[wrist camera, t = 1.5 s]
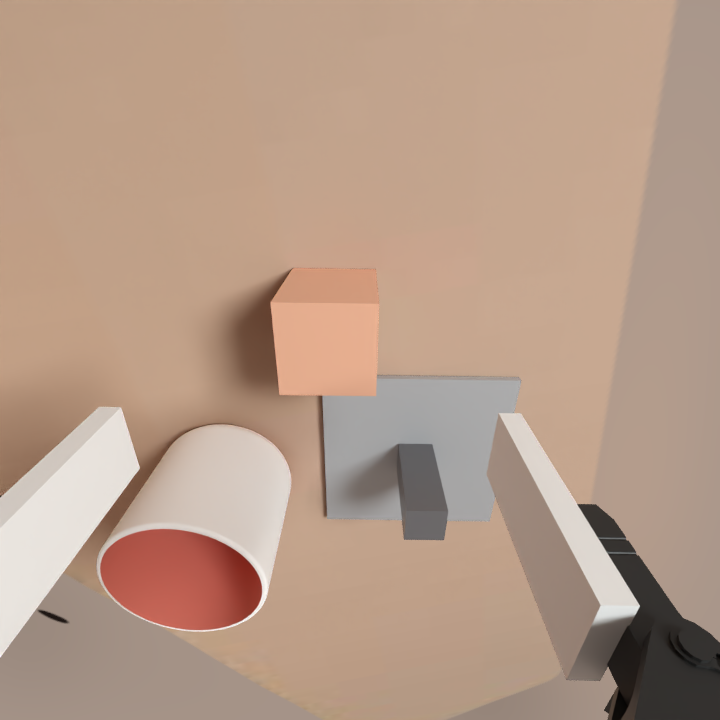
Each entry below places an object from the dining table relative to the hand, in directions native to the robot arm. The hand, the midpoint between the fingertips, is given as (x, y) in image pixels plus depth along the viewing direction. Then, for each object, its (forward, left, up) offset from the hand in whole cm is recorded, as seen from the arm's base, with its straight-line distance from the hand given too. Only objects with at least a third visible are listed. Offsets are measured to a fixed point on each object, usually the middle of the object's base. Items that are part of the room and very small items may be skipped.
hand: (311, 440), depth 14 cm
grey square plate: (+12, +6, -13) cm, 19 cm away
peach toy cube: (0, 0, -13) cm, 13 cm away
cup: (+14, -9, -14) cm, 21 cm away
